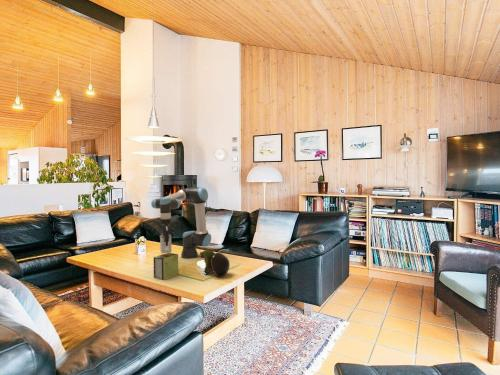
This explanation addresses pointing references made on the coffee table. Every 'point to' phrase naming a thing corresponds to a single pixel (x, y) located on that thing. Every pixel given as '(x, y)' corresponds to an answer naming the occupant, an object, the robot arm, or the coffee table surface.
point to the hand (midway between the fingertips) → (165, 249)
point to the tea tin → (162, 244)
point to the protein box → (165, 266)
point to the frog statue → (215, 262)
